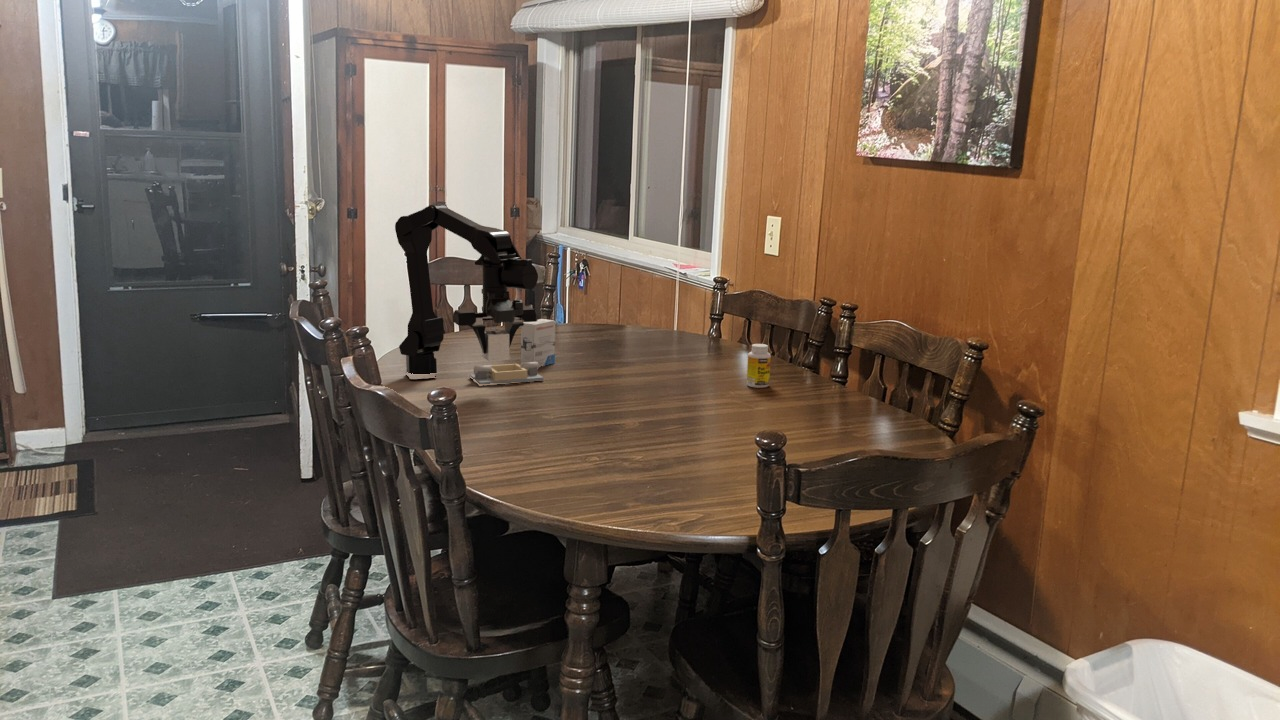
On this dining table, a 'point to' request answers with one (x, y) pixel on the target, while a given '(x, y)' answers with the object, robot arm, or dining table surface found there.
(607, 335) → the dining table surface
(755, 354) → the supplement bottle
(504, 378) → the shaft bench
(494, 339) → the block
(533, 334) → the ink box
